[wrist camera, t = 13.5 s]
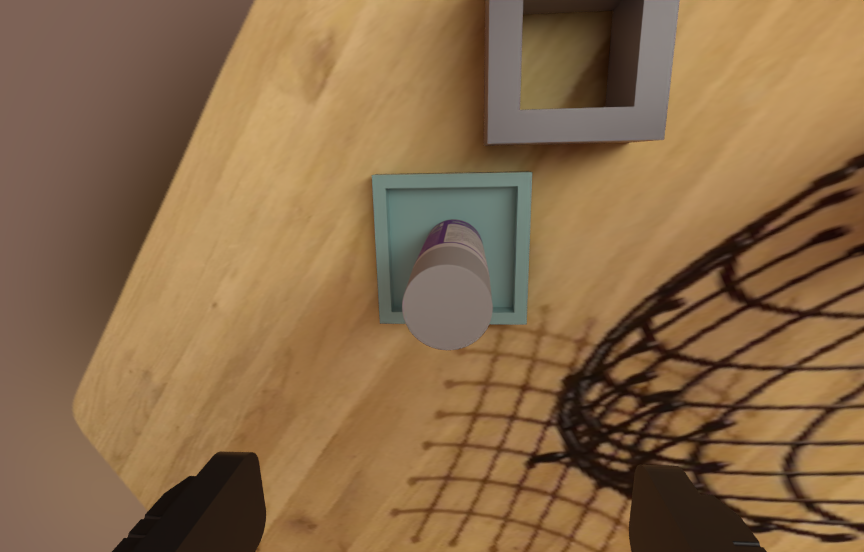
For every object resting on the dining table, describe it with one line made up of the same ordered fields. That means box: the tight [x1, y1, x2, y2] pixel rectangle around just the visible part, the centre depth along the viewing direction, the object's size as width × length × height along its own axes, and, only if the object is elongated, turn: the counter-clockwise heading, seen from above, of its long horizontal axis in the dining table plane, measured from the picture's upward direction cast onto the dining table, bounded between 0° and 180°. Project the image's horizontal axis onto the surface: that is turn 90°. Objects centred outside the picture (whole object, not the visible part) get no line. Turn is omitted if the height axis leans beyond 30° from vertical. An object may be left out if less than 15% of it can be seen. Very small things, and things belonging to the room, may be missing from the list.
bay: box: [484, 0, 680, 146], centre depth 30 cm, size 11×11×6 cm
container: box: [402, 219, 493, 350], centre depth 29 cm, size 5×5×15 cm
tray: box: [372, 171, 532, 324], centre depth 36 cm, size 12×12×2 cm
